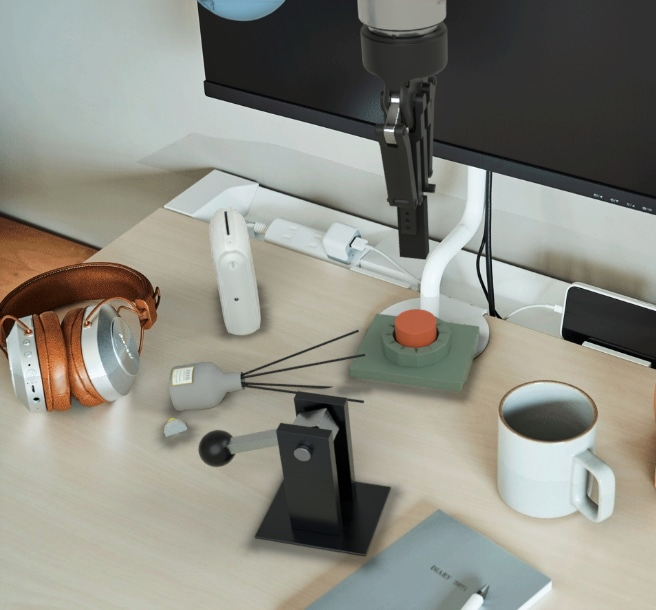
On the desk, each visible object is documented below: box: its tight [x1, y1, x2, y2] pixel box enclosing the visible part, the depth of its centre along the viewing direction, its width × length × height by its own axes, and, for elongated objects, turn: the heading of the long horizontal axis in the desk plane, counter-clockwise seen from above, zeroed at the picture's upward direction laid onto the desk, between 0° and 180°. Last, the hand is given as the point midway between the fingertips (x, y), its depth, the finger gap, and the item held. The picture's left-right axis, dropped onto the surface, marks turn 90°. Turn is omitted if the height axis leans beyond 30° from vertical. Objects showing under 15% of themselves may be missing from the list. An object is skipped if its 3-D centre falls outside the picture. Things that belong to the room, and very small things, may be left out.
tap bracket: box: [254, 390, 392, 557], centre depth 79 cm, size 10×8×13 cm
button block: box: [349, 313, 480, 393], centre depth 100 cm, size 12×10×4 cm
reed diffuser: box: [163, 329, 365, 437], centre depth 94 cm, size 10×7×20 cm
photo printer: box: [208, 207, 262, 336], centre depth 105 cm, size 10×4×12 cm, turn 16°
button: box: [395, 308, 436, 348], centre depth 99 cm, size 4×4×2 cm
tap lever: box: [197, 408, 339, 468], centre depth 78 cm, size 13×3×3 cm, turn 79°
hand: (414, 254), depth 93 cm, fingers closed
